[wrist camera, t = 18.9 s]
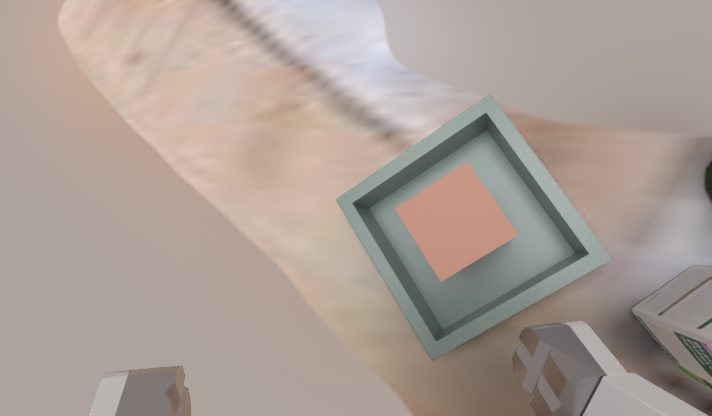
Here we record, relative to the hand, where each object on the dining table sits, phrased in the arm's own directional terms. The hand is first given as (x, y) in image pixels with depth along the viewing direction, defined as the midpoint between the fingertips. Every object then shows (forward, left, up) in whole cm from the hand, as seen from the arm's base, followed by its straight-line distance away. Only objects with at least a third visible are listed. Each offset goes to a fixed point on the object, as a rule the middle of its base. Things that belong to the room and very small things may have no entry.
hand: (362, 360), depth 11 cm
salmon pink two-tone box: (+3, -3, -27) cm, 28 cm away
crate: (+3, -3, -28) cm, 29 cm away
